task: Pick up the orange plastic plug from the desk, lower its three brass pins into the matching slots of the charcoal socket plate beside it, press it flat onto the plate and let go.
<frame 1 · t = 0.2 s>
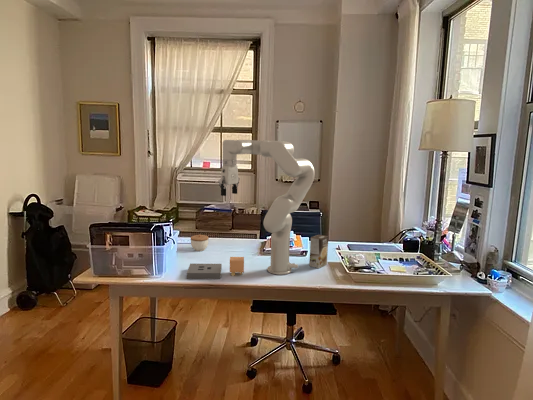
hand: (229, 194, 214), 37 cm above the table, tool pointing down, fingers open, 9 cm apart
plug: (236, 274, 197), on the table
lidded jar: (199, 249, 237), on the table
coffee box: (318, 265, 214), on the table
socket: (204, 273, 196), on the table
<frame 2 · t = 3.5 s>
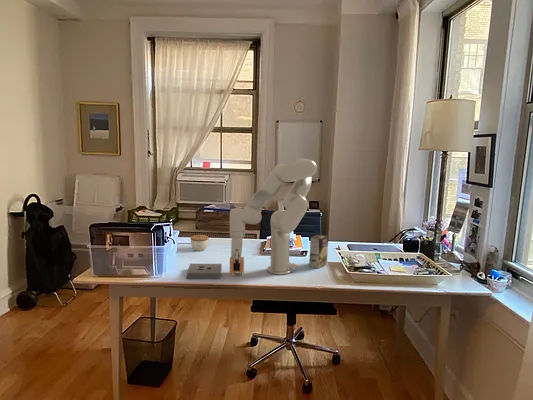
hand: (236, 268, 197), 3 cm above the table, tool pointing down, fingers closed on plug, 6 cm apart
plug: (236, 274, 197), on the table, touching gripper
everything else where it was.
when the fingers open (4 cm above the table, at t = 9.9 s): plug stays where it is, resting on socket.
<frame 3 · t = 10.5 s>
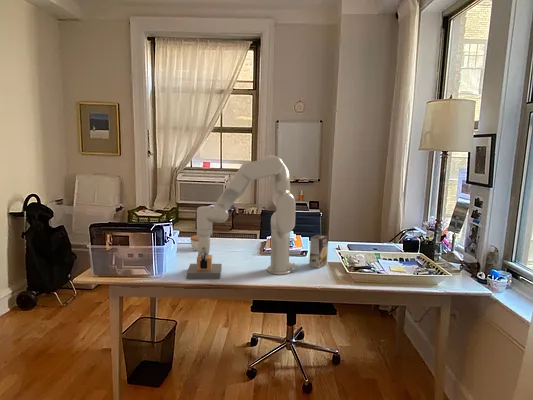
hand: (204, 265, 196), 5 cm above the table, tool pointing down, fingers open, 9 cm apart
plug: (204, 272, 196), point 1 cm above the table, touching socket
everything else where it was.
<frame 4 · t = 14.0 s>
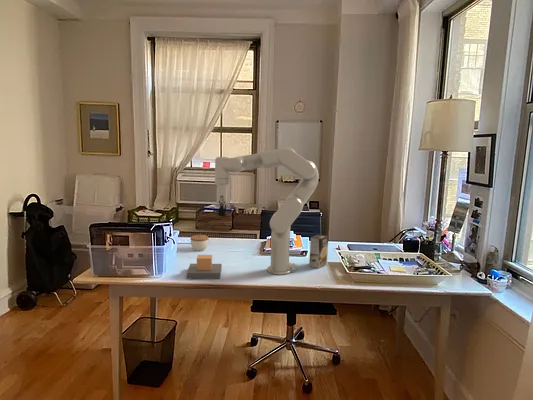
hand: (222, 214, 203), 28 cm above the table, tool pointing down, fingers open, 9 cm apart
nothing on the table moved.
at the end: plug 0.1 cm off-centre on the socket, point 1.0 cm above the socket's base; plug tilted 0°; the gripper is holding nothing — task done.
